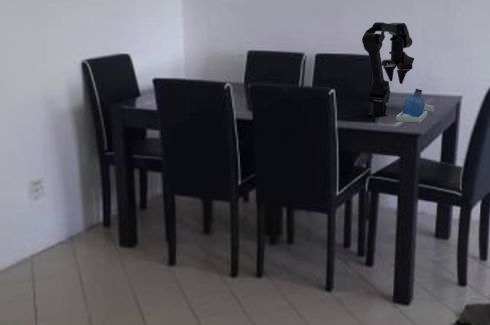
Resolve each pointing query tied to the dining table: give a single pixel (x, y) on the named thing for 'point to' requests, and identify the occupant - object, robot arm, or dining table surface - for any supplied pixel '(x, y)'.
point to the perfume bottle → (414, 104)
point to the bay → (428, 108)
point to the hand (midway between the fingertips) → (395, 82)
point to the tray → (411, 117)
